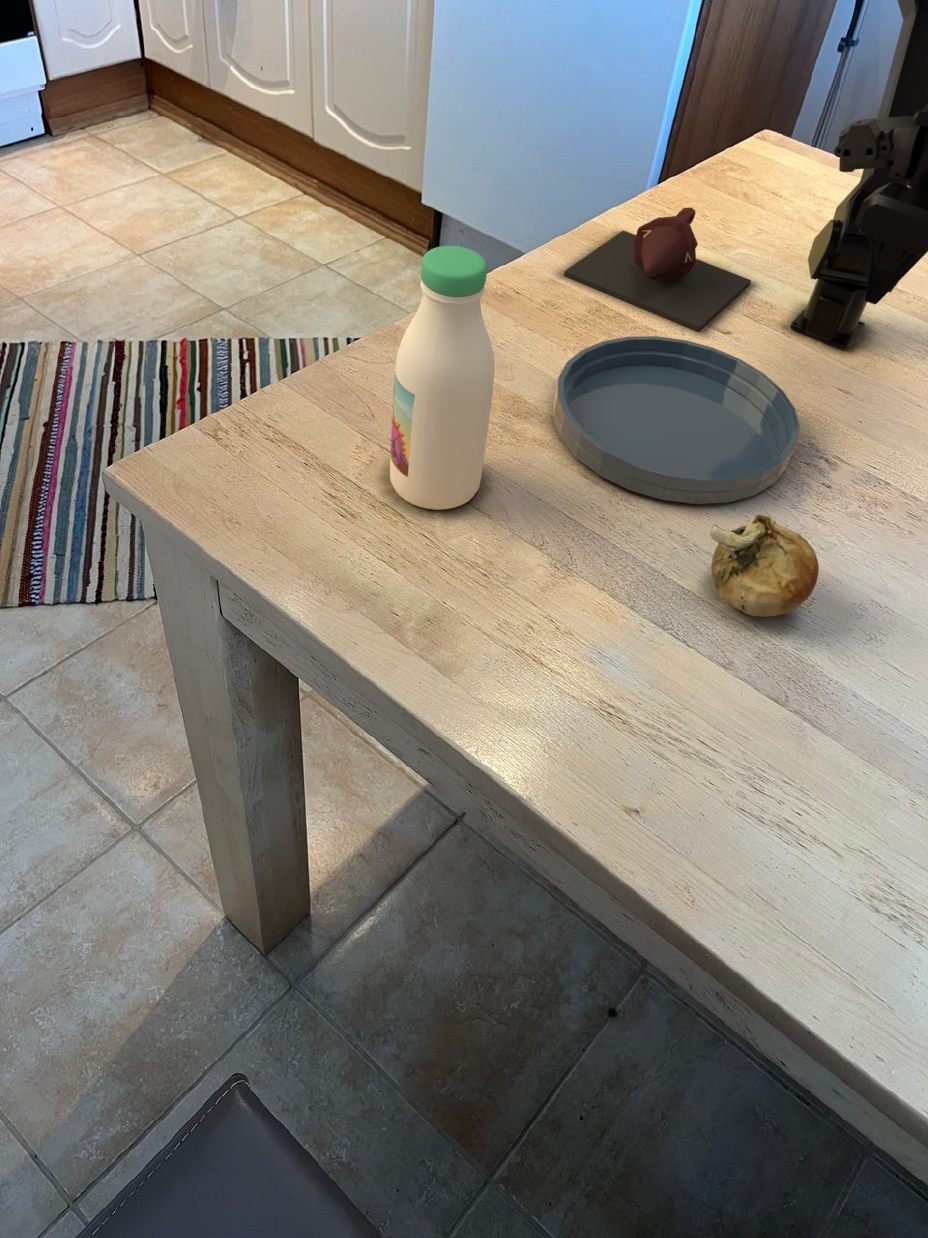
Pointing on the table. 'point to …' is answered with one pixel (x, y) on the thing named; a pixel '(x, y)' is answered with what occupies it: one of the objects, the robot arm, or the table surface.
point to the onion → (763, 567)
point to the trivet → (658, 284)
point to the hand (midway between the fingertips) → (887, 284)
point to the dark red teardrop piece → (666, 246)
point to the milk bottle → (443, 385)
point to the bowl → (674, 419)
